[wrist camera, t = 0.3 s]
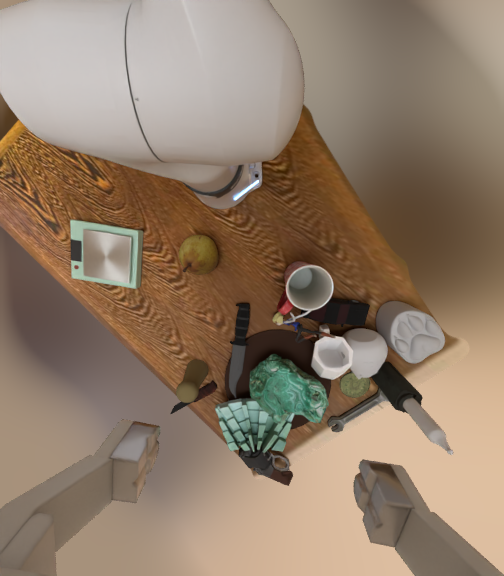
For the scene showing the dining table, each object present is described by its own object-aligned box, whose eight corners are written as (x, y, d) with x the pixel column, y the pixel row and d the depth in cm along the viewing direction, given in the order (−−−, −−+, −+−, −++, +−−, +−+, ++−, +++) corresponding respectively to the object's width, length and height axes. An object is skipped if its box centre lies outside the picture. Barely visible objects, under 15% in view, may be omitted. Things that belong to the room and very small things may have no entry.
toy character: (399, 341, 51) (397, 386, 55) (369, 320, 61) (370, 360, 65) (353, 352, 51) (355, 397, 54) (331, 329, 60) (334, 369, 64)
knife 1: (165, 406, 69) (171, 414, 70) (164, 408, 68) (170, 416, 69) (213, 379, 67) (219, 387, 67) (212, 381, 66) (218, 390, 66)
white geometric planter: (350, 377, 58) (359, 369, 50) (314, 382, 59) (318, 375, 50) (335, 330, 64) (341, 316, 56) (303, 335, 65) (304, 322, 56)
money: (235, 451, 66) (234, 469, 61) (214, 405, 62) (212, 419, 58) (304, 431, 65) (309, 447, 61) (288, 382, 61) (291, 395, 57)
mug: (299, 249, 57) (310, 254, 44) (325, 274, 58) (343, 287, 45) (262, 286, 60) (262, 302, 47) (288, 310, 61) (295, 332, 48)
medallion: (335, 392, 66) (336, 394, 65) (344, 367, 64) (345, 369, 64) (363, 399, 66) (364, 400, 66) (373, 374, 64) (374, 376, 64)
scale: (78, 219, 58) (69, 219, 55) (143, 230, 58) (137, 230, 55) (78, 276, 61) (70, 278, 58) (140, 286, 61) (135, 289, 58)
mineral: (323, 354, 62) (331, 364, 52) (322, 416, 61) (330, 439, 51) (252, 349, 64) (247, 358, 54) (250, 410, 63) (244, 430, 53)
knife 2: (223, 395, 63) (242, 397, 63) (222, 398, 62) (241, 401, 62) (235, 301, 61) (254, 304, 61) (235, 302, 59) (254, 305, 59)
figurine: (255, 289, 59) (329, 299, 44) (278, 296, 65) (350, 306, 50) (246, 330, 58) (319, 355, 43) (270, 333, 64) (341, 355, 49)
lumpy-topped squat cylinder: (393, 353, 62) (413, 372, 54) (365, 315, 60) (382, 329, 52) (429, 330, 61) (456, 347, 52) (402, 291, 58) (426, 301, 50)
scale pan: (84, 228, 55) (82, 228, 54) (132, 236, 55) (130, 236, 54) (85, 275, 58) (83, 275, 57) (130, 282, 58) (128, 283, 57)
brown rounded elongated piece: (182, 367, 66) (167, 393, 55) (198, 355, 65) (186, 380, 54) (196, 382, 67) (184, 411, 56) (213, 371, 66) (203, 398, 55)
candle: (392, 363, 63) (474, 445, 39) (385, 379, 64) (459, 469, 40) (374, 358, 63) (444, 437, 39) (367, 374, 64) (430, 461, 40)
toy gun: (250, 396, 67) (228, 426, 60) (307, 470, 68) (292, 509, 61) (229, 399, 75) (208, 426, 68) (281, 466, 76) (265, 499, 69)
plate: (335, 333, 62) (340, 340, 58) (321, 424, 68) (325, 434, 65) (227, 325, 62) (225, 331, 59) (224, 416, 69) (222, 426, 66)
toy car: (360, 323, 61) (367, 332, 56) (298, 314, 61) (301, 322, 56) (367, 299, 59) (375, 306, 54) (303, 289, 59) (306, 295, 55)
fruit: (210, 228, 57) (196, 227, 45) (227, 262, 59) (219, 270, 47) (178, 244, 58) (158, 247, 47) (196, 277, 60) (181, 288, 48)
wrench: (334, 432, 69) (395, 394, 65) (336, 436, 67) (398, 398, 63) (324, 419, 69) (384, 381, 65) (325, 423, 67) (387, 384, 63)
